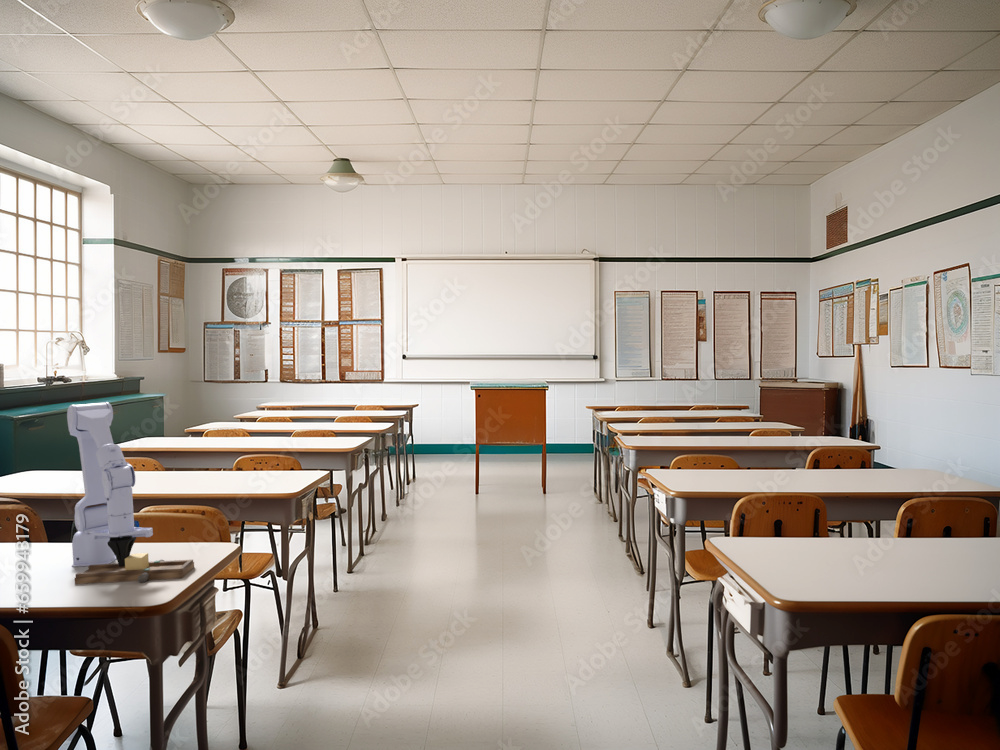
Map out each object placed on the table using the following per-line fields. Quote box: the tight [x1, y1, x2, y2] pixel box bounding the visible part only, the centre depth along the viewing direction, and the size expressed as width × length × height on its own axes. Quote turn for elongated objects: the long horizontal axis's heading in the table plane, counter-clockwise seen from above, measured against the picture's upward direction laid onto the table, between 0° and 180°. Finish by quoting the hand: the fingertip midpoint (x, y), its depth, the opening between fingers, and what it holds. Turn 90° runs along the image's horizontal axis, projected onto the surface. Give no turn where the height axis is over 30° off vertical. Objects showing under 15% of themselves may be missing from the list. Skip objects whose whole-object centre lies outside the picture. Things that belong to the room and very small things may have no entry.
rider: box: [125, 552, 150, 570], centre depth 169 cm, size 4×4×4 cm
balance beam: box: [74, 559, 195, 585], centre depth 169 cm, size 26×12×2 cm, turn 95°
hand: (123, 565), depth 168 cm, fingers closed
